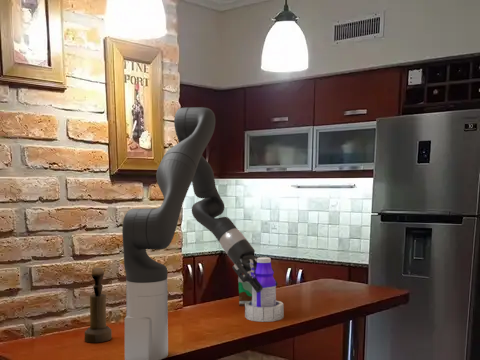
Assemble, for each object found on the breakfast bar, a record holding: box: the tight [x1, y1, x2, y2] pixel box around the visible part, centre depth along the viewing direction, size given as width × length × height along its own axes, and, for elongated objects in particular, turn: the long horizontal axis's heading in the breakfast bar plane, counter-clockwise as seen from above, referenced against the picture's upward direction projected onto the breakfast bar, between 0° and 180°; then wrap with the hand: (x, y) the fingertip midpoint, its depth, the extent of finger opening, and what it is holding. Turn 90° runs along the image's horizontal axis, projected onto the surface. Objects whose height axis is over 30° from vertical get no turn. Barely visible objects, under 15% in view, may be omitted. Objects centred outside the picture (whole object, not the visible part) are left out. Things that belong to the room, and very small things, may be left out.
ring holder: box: [244, 300, 285, 323], centre depth 150 cm, size 11×11×4 cm
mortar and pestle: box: [84, 267, 113, 344], centre depth 129 cm, size 7×6×18 cm
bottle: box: [252, 256, 277, 307], centre depth 151 cm, size 7×6×17 cm
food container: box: [237, 273, 255, 307], centre depth 170 cm, size 12×6×10 cm, turn 168°
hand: (268, 288), depth 150 cm, fingers closed on bottle, 7 cm apart
